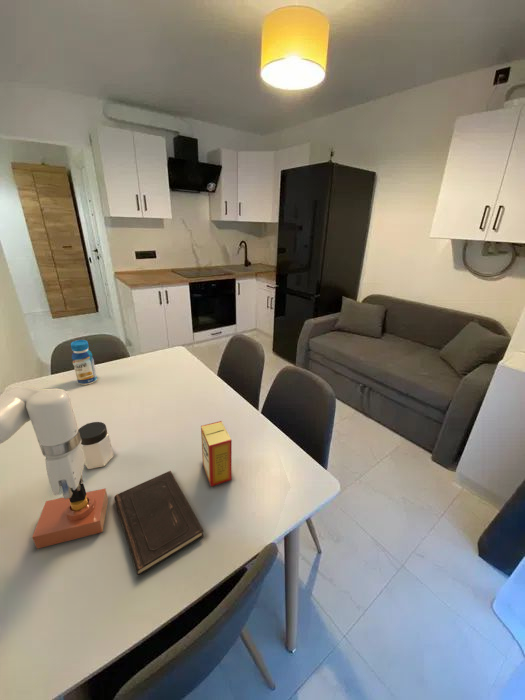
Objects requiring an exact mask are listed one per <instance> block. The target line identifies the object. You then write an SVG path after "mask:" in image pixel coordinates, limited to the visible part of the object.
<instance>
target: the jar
mask: <svg viewBox="0 0 525 700" xmlns="http://www.w3.org/2000/svg"><path fill="white" fill-rule="evenodd" d="M78 429H79V433H80V436H81V440H82V442H81V447H82V450H83V454H84V458H85V463H84V466H85V467H86V468H87V469H88V470H92V469H96V468H103V467H105V466H106V465H107V464H108V463H109V462H110V461H111V460H112V458H113V457H114V452H113V447H112V442H111V437H110V434H109V432H108V429H107V425H106V423H104V422H102V421H93V422H89V423H86V424H83V425H81V427H80V428H78Z"/></svg>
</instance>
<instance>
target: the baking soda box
mask: <svg viewBox="0 0 525 700" xmlns="http://www.w3.org/2000/svg"><path fill="white" fill-rule="evenodd" d="M200 430H201V431H200V434H201V437H200V438H201V452H202V453H201V455H202V466H203V469H204V472H205V475H206V477H207V480H208V483H209V485H210V487H214V486H217V485H220V484H224V483H226V482H229V481H232V454H233V453H232V452H233V451H232V444H233V443H232V441H233V440H232V438H231V437H230V434H229V433H228V431H227V428H226V426H225V425H224V423H223V421H222V420H219V421H216V422H211V423H207V424H203V425H200Z"/></svg>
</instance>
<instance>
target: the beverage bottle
mask: <svg viewBox="0 0 525 700" xmlns="http://www.w3.org/2000/svg"><path fill="white" fill-rule="evenodd" d="M70 348H71V351H72V354H71V359H72V365H73V368H74V372H75V375H76V376H75V377H76V381H77V384H79V385H82V386H83V385H85V386H87V385H91V384H93V383H95V382H96V381H97V380H98V376H97V371H96V365H95V360H94V357H93V353H92V351H91V350H90V349H89V348H90V346H89V342H88V340H86V339H77V340H74V341H72V342H71V343H70Z"/></svg>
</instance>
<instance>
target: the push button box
mask: <svg viewBox="0 0 525 700" xmlns="http://www.w3.org/2000/svg"><path fill="white" fill-rule="evenodd" d="M86 496H87V500H88V504H87V506H86V507H85V508H83V509H81V510H79V511H73V510H72V508H71V505H70V499H69V498H68V499H64V496H62V497H58V498H54V499H53V498H52V499H49V500H46V501H45V503H44V506H43V508H42V510H41V513H40V516H39V518H38V521H37V524H36V526H35V529H34V531H33V534H32V537H31V539H32V541H33V543H34V545H35V548H36V549H41V548H42V549H43V548H46V547H50V546H52V545H53V546H54V545H57V544H58V545H59V544H62V543H66V542H69V541H72V540H77V539H81V538H85V537H89V536H93V535H97V534H101V533H103V531H104V526H105V520H106V519H105V518H106V513H107V508H108V504H109V503H108V502H109V496H108V493H107V488H106V487H105V488H100V489H95V490H91V491H86Z"/></svg>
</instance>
